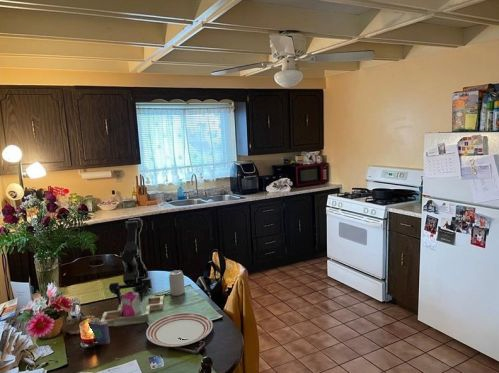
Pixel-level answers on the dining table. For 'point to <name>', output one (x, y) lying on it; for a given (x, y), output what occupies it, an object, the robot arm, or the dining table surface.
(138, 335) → the dining table surface
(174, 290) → the can
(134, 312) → the supplement box
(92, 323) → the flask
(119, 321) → the trap lane
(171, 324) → the dinner plate
